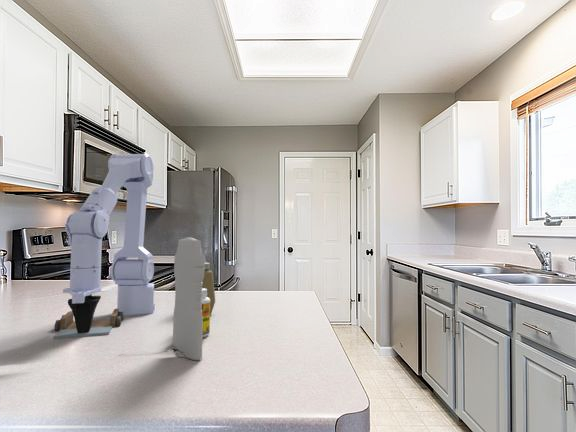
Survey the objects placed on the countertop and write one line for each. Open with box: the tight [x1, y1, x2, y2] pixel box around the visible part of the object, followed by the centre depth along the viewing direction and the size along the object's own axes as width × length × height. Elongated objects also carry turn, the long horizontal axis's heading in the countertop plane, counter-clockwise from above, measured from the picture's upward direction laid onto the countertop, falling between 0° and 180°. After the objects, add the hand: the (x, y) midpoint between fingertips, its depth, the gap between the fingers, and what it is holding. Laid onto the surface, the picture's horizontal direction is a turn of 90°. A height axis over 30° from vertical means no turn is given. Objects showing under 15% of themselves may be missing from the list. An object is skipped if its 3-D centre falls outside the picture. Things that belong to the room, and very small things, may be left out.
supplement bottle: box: [202, 288, 211, 339], centre depth 81 cm, size 6×6×10 cm
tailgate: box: [53, 326, 113, 340], centre depth 77 cm, size 10×1×6 cm
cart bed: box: [53, 308, 124, 332], centre depth 85 cm, size 13×8×4 cm, turn 110°
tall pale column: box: [172, 236, 206, 362], centre depth 69 cm, size 11×4×22 cm, turn 44°
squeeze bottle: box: [201, 249, 216, 315], centre depth 102 cm, size 8×8×18 cm
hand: (83, 331), depth 76 cm, fingers closed
